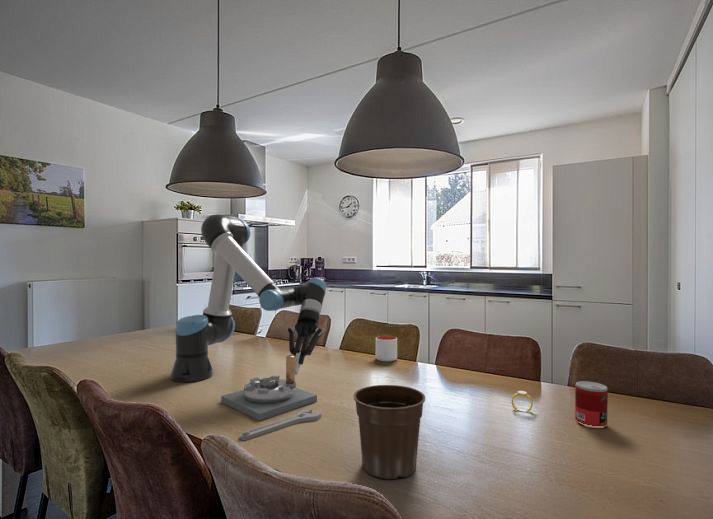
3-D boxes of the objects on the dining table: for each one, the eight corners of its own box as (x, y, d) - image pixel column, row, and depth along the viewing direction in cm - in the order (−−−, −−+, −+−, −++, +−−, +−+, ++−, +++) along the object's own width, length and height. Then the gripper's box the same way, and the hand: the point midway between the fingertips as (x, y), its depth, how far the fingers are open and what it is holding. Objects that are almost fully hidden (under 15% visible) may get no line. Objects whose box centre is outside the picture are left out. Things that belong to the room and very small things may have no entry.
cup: (400, 358, 190) (401, 337, 190) (390, 363, 181) (391, 340, 181) (382, 355, 195) (382, 334, 195) (371, 360, 187) (371, 338, 187)
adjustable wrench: (242, 443, 105) (242, 436, 105) (233, 434, 110) (233, 428, 110) (324, 418, 120) (324, 412, 120) (312, 412, 125) (312, 406, 125)
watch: (531, 411, 126) (533, 392, 126) (531, 415, 123) (533, 395, 123) (511, 407, 128) (512, 388, 128) (510, 410, 126) (512, 391, 126)
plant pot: (364, 445, 103) (364, 381, 103) (429, 454, 98) (429, 387, 98) (343, 478, 87) (343, 403, 87) (419, 491, 83) (419, 411, 82)
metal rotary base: (236, 403, 126) (236, 361, 126) (253, 387, 142) (253, 349, 142) (290, 405, 125) (290, 362, 125) (300, 388, 141) (300, 350, 141)
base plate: (221, 401, 133) (221, 395, 133) (277, 386, 149) (277, 380, 149) (259, 420, 118) (259, 413, 118) (317, 401, 134) (317, 395, 134)
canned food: (607, 431, 111) (607, 391, 111) (574, 425, 115) (574, 386, 115) (607, 422, 117) (607, 383, 117) (576, 416, 122) (576, 379, 122)
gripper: (328, 320, 152) (316, 378, 137) (296, 319, 155) (280, 377, 139) (324, 308, 147) (310, 367, 131) (290, 308, 150) (273, 366, 134)
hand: (294, 372), depth 135 cm, fingers closed
